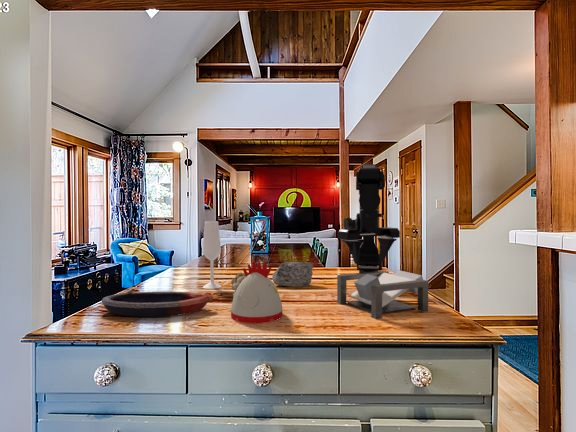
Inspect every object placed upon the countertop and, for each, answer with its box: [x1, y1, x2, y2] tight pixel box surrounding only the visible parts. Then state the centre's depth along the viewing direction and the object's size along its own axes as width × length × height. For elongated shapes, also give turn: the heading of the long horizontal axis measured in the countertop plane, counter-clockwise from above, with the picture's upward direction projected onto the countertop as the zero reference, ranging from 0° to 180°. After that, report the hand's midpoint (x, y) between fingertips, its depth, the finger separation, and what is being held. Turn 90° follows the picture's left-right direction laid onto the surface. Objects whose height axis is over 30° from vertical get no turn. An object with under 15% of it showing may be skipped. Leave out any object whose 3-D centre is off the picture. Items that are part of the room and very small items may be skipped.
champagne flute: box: [201, 220, 222, 290], centre depth 143 cm, size 7×7×24 cm
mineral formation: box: [230, 271, 246, 298], centre depth 128 cm, size 8×13×15 cm
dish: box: [101, 290, 214, 318], centre depth 110 cm, size 16×31×5 cm, turn 89°
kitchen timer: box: [230, 259, 283, 324], centre depth 106 cm, size 14×14×15 cm
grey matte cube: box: [353, 274, 383, 301], centre depth 113 cm, size 5×5×5 cm
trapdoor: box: [350, 269, 424, 307], centre depth 116 cm, size 18×14×5 cm
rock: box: [271, 261, 314, 288], centre depth 146 cm, size 16×8×10 cm, turn 84°
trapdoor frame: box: [336, 270, 429, 320], centre depth 115 cm, size 18×19×8 cm
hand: (369, 262), depth 116 cm, fingers open, 9 cm apart
